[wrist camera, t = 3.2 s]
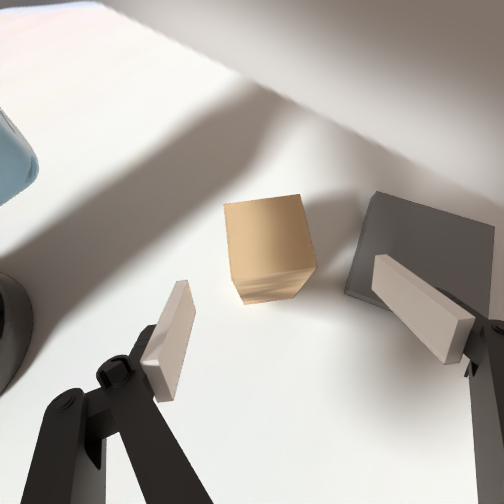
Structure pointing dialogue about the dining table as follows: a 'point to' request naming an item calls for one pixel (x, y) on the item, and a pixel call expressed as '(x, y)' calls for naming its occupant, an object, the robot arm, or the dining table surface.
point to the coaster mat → (424, 250)
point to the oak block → (269, 248)
